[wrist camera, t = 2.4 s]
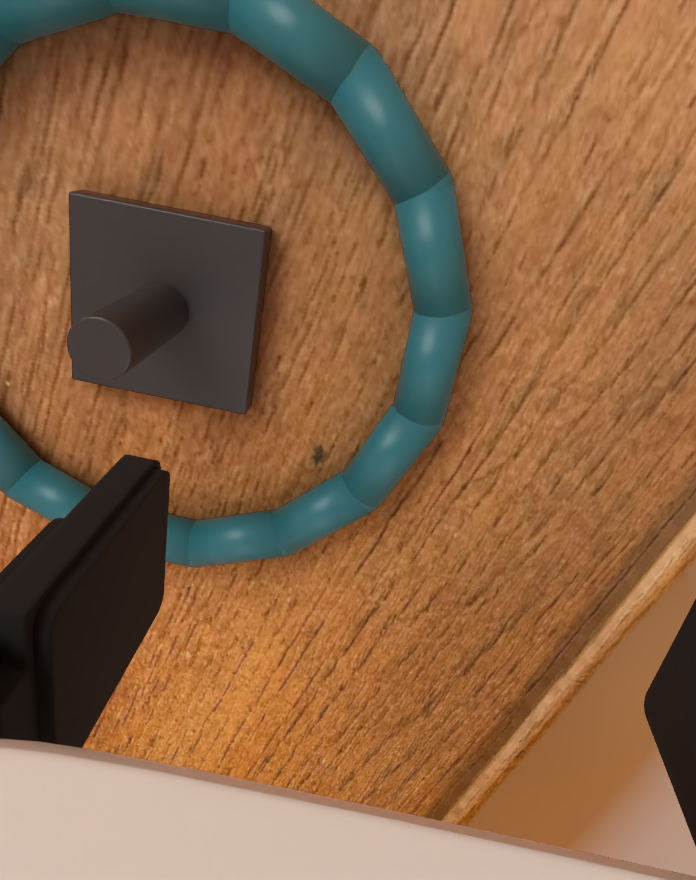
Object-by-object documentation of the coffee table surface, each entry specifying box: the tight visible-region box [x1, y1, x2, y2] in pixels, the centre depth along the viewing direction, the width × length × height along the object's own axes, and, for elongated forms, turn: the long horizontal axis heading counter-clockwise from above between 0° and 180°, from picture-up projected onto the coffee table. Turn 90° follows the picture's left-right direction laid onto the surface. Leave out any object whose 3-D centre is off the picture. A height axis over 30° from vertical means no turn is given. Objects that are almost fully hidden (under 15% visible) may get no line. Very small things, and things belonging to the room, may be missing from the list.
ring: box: [0, 0, 472, 567], centre depth 23 cm, size 22×22×2 cm
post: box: [67, 190, 272, 414], centre depth 22 cm, size 7×7×6 cm
